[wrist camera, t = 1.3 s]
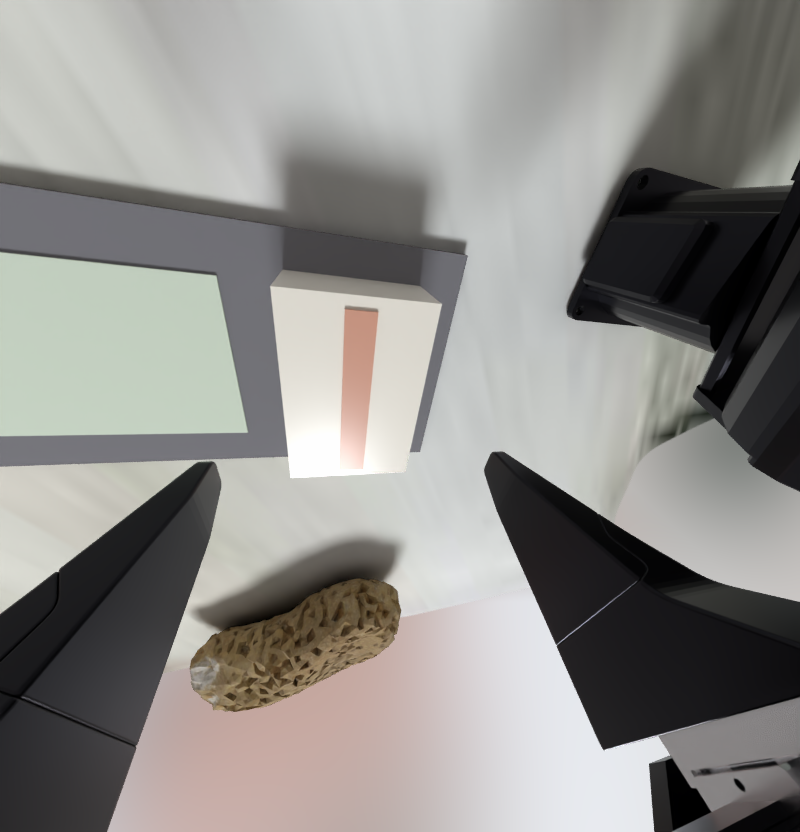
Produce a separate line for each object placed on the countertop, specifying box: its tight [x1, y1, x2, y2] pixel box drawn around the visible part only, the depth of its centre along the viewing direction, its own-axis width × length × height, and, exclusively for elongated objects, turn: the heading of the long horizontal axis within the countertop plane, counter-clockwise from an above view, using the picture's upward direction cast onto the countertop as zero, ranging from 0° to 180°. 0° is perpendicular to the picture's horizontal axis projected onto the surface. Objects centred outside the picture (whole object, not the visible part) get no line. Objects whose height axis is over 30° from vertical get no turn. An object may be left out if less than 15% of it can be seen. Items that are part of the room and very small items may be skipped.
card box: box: [270, 270, 442, 478], centre depth 14 cm, size 6×9×3 cm, turn 171°
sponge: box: [190, 578, 401, 712], centre depth 28 cm, size 13×8×20 cm
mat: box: [0, 183, 468, 467], centre depth 14 cm, size 22×12×1 cm, turn 81°
